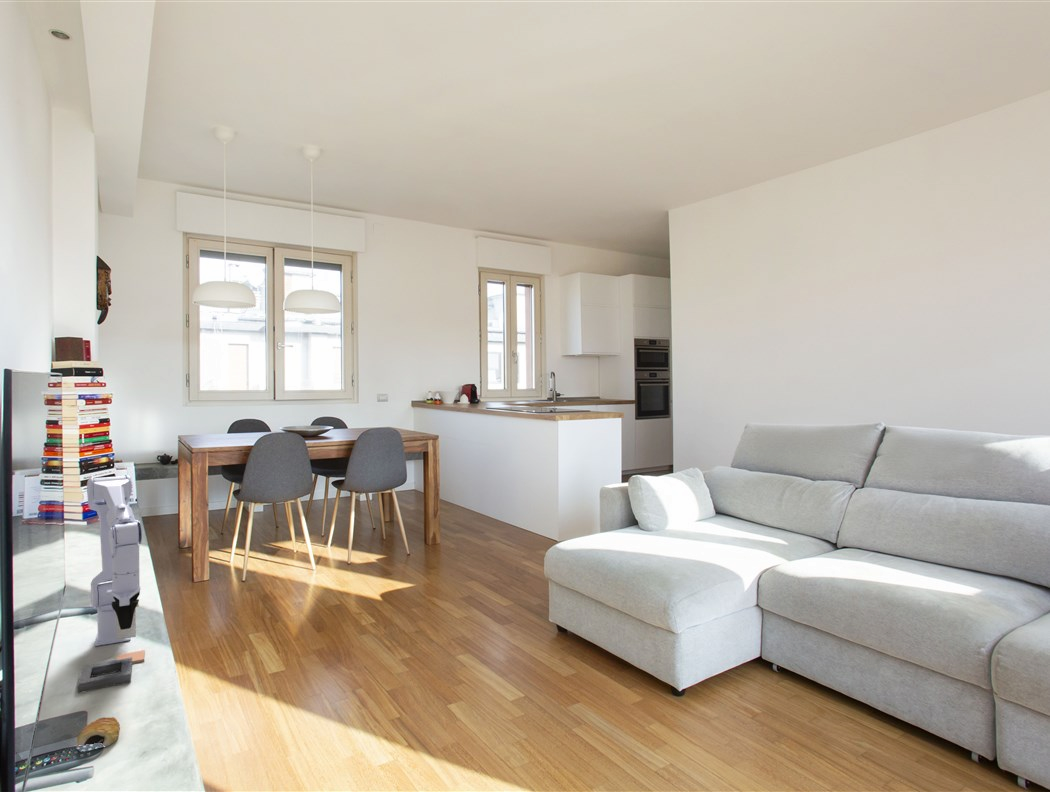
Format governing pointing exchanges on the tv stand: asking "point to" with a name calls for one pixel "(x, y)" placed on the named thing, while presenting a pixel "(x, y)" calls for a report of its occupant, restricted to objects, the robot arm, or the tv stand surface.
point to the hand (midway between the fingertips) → (126, 625)
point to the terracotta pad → (133, 656)
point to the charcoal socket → (107, 680)
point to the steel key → (126, 632)
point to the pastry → (100, 732)
